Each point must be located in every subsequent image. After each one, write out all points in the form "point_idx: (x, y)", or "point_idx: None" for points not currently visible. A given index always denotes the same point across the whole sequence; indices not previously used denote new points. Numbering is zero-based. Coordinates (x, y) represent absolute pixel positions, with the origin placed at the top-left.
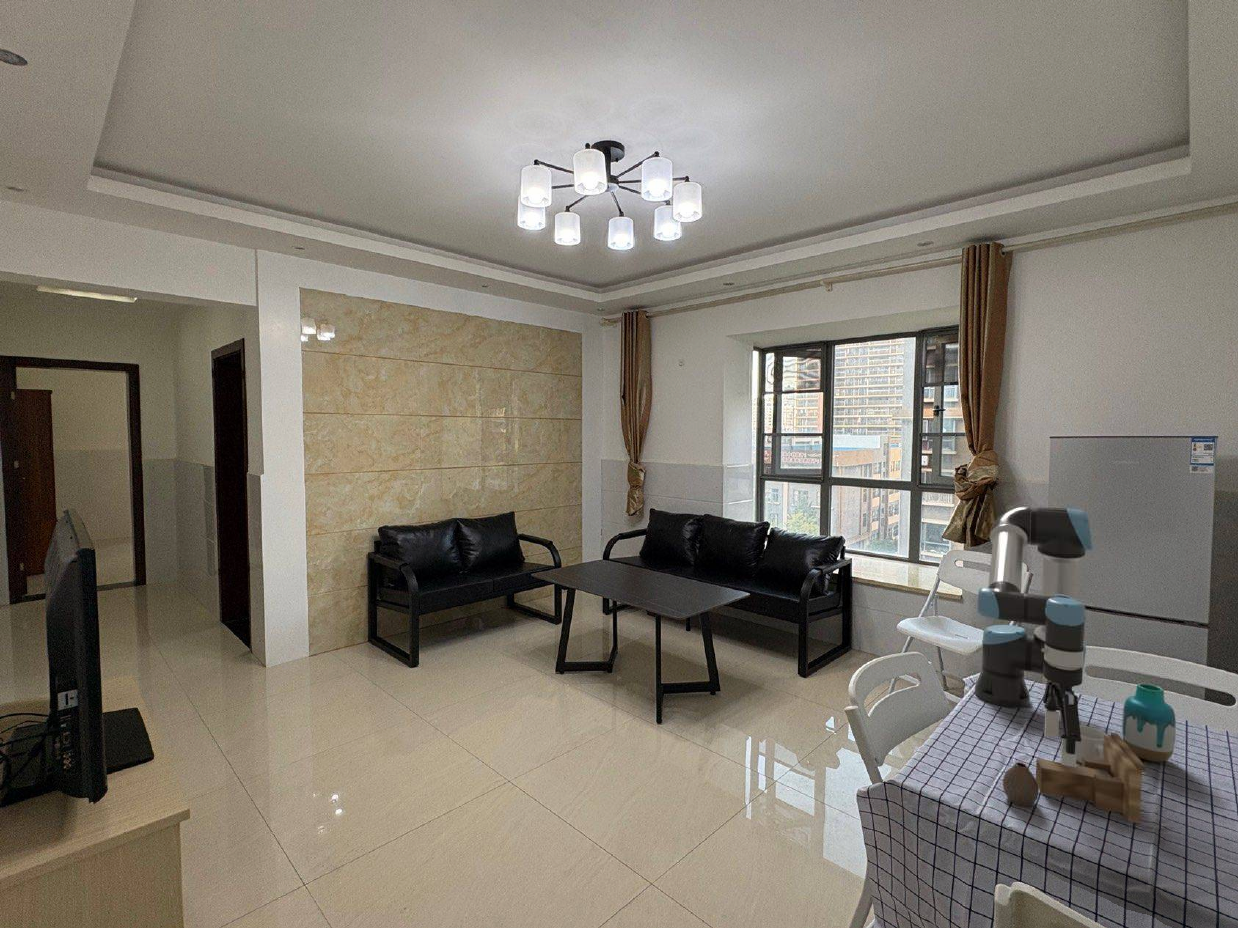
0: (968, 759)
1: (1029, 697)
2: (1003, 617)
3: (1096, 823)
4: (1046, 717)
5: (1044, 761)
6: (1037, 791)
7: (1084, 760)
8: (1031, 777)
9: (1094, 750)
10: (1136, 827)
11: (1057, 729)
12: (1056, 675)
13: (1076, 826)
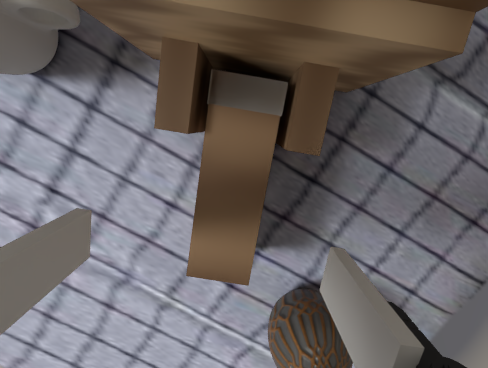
0: (131, 351)
1: None
2: None
3: (367, 179)
4: (14, 320)
5: (200, 258)
6: None
7: (180, 132)
8: (343, 354)
9: (21, 16)
10: (371, 86)
11: (63, 230)
12: None
13: (385, 231)
